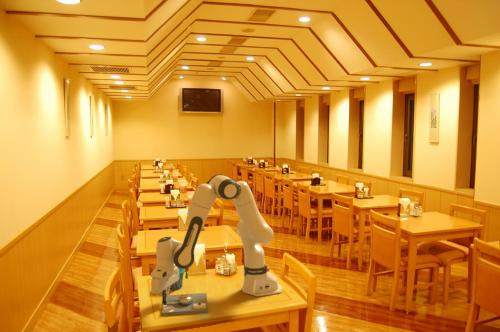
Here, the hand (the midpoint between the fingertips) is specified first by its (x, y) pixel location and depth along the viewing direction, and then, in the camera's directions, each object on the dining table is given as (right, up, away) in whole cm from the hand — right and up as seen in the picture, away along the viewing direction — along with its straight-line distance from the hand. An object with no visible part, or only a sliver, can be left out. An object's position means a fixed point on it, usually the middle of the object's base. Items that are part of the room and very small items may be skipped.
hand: (166, 294), depth 207 cm
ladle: (+6, -3, -2) cm, 7 cm away
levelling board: (+10, -5, 0) cm, 11 cm away
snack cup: (0, -3, +23) cm, 23 cm away
